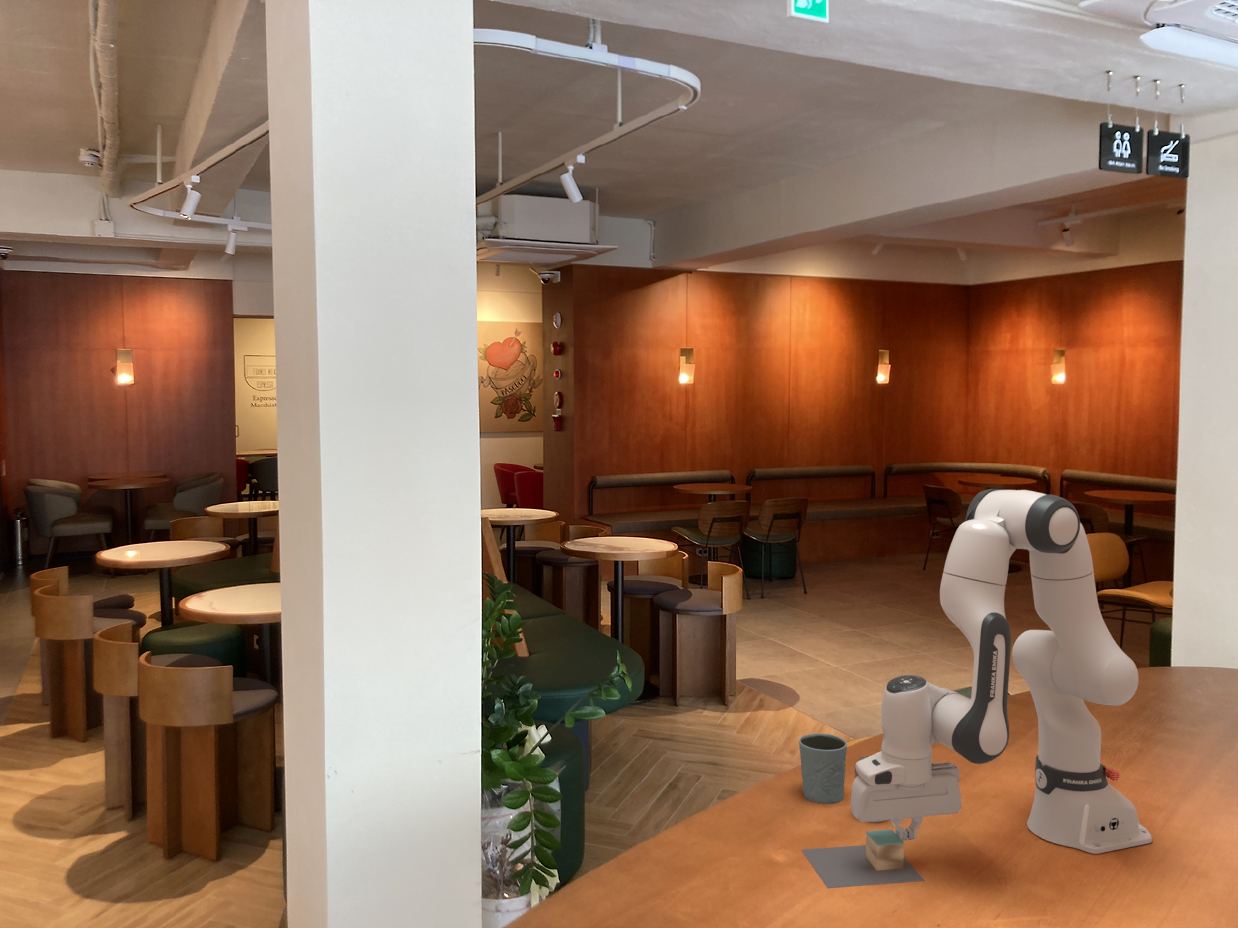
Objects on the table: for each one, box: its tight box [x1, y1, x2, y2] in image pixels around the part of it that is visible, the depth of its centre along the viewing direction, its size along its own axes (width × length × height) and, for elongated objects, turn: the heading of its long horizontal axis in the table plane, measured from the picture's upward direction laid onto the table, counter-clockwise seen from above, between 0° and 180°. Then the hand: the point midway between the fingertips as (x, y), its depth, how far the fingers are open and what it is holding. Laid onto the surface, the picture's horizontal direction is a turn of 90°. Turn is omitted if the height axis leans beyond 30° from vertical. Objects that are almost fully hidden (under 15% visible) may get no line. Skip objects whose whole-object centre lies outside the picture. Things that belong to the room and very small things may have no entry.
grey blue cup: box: [798, 733, 848, 805], centre depth 203 cm, size 10×10×12 cm
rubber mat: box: [800, 844, 926, 889], centre depth 172 cm, size 18×14×1 cm
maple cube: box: [865, 829, 905, 871], centre depth 172 cm, size 5×5×5 cm
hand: (906, 838), depth 173 cm, fingers closed
